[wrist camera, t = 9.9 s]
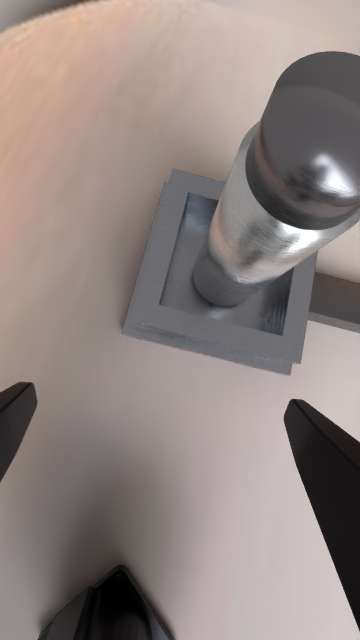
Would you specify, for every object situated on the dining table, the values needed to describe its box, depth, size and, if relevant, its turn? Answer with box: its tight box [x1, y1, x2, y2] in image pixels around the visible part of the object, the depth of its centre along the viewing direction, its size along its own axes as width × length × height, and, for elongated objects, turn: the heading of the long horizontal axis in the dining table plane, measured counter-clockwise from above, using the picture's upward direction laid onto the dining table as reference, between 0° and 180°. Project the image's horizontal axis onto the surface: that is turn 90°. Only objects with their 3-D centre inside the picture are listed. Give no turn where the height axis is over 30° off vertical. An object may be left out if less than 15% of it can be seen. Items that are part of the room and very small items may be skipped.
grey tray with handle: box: [121, 169, 360, 376], centre depth 19 cm, size 13×29×4 cm, turn 76°
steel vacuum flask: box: [193, 51, 360, 306], centre depth 13 cm, size 5×5×13 cm
